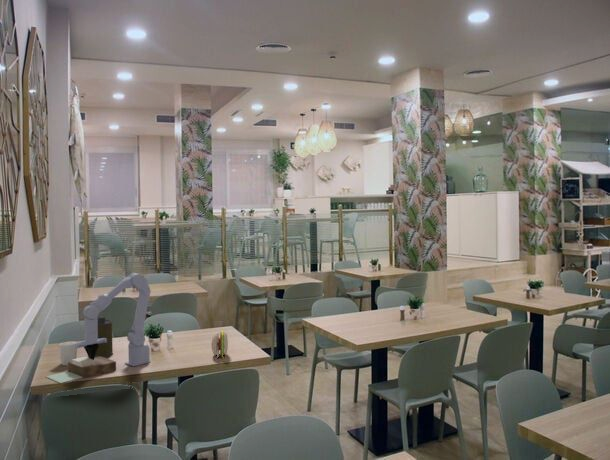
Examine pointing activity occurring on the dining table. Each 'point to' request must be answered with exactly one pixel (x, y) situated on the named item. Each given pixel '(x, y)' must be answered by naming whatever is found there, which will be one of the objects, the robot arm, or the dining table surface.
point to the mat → (64, 377)
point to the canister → (104, 332)
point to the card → (83, 361)
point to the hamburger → (219, 344)
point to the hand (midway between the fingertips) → (91, 360)
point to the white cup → (67, 352)
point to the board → (93, 367)
